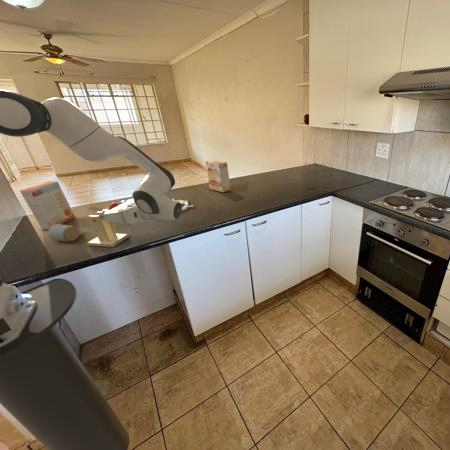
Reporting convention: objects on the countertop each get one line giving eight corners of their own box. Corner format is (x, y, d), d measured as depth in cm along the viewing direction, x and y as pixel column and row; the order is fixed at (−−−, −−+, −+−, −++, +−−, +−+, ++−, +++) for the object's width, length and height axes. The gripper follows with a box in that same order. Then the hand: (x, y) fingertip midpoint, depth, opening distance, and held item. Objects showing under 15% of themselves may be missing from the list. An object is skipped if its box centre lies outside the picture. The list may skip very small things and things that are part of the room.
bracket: (128, 236, 116) (118, 210, 110) (113, 247, 108) (101, 219, 102) (105, 235, 117) (94, 209, 111) (89, 245, 110) (75, 217, 103)
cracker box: (65, 217, 135) (47, 180, 125) (76, 217, 135) (58, 180, 125) (40, 229, 123) (18, 190, 113) (52, 230, 122) (30, 190, 113)
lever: (123, 207, 105) (117, 200, 104) (117, 210, 102) (110, 203, 101) (104, 220, 110) (97, 213, 109) (97, 224, 107) (90, 217, 106)
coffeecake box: (209, 188, 176) (205, 161, 168) (218, 186, 181) (214, 159, 173) (222, 192, 168) (218, 163, 160) (231, 190, 173) (227, 161, 165)
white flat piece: (198, 204, 150) (198, 202, 150) (153, 222, 130) (152, 219, 129) (178, 197, 161) (178, 195, 160) (133, 212, 140) (132, 210, 140)
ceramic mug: (68, 245, 110) (60, 229, 106) (52, 243, 111) (44, 228, 107) (89, 233, 119) (83, 219, 116) (74, 232, 120) (67, 218, 117)
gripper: (157, 193, 110) (128, 191, 111) (122, 211, 92) (89, 209, 93) (160, 206, 113) (133, 204, 114) (127, 226, 95) (95, 224, 96)
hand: (113, 207), depth 104 cm, fingers open, 8 cm apart
